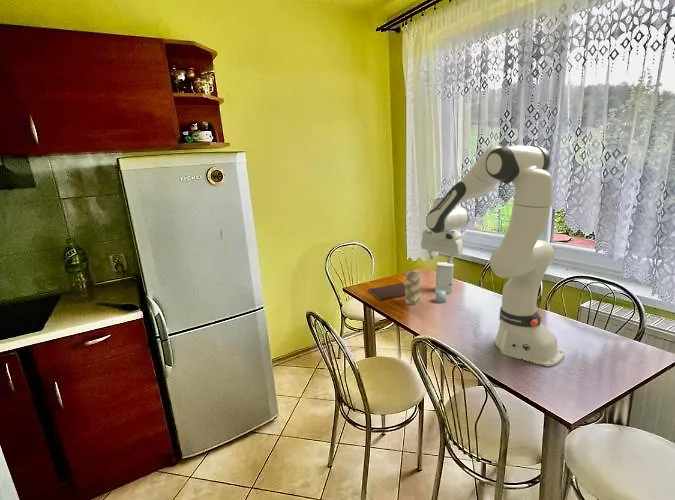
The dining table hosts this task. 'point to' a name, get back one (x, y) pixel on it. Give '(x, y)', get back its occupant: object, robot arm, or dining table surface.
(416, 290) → the tower mid
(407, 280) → the tower top
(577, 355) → the dining table surface
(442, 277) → the skincare box
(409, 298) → the tower base
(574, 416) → the dining table surface
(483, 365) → the dining table surface
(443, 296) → the blue-grey rounded cube
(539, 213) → the robot arm
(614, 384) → the dining table surface
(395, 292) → the notebook
